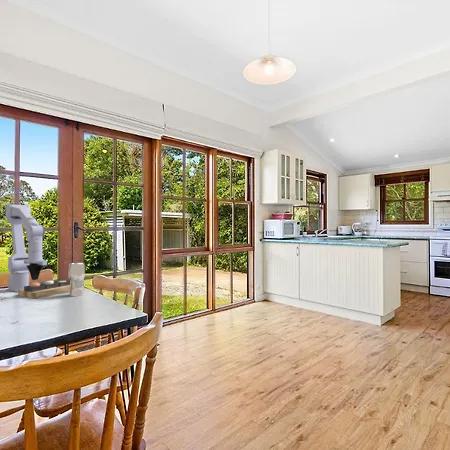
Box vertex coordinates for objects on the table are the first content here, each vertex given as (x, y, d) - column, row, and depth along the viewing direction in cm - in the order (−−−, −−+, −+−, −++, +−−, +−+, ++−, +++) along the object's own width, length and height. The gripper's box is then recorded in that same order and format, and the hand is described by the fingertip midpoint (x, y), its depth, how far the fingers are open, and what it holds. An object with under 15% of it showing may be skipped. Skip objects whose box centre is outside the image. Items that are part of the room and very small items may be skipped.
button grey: (42, 285, 151) (42, 281, 151) (50, 283, 154) (50, 280, 154) (47, 285, 149) (47, 282, 149) (55, 284, 152) (55, 281, 152)
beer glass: (80, 296, 144) (80, 264, 144) (65, 296, 144) (65, 264, 144) (87, 293, 150) (87, 262, 151) (72, 293, 151) (73, 262, 151)
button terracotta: (27, 287, 144) (27, 283, 144) (36, 286, 148) (36, 282, 148) (33, 288, 143) (33, 284, 143) (41, 287, 146) (41, 283, 146)
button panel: (18, 295, 145) (18, 285, 145) (59, 287, 164) (59, 279, 164) (36, 298, 139) (36, 288, 139) (77, 290, 158) (77, 281, 158)
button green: (55, 285, 157) (55, 281, 157) (62, 283, 160) (63, 280, 160) (60, 285, 155) (61, 282, 155) (68, 284, 159) (68, 281, 159)
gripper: (53, 250, 146) (52, 279, 146) (34, 249, 152) (33, 277, 152) (38, 252, 139) (38, 282, 139) (19, 250, 146) (18, 279, 146)
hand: (34, 279), depth 145 cm, fingers closed
